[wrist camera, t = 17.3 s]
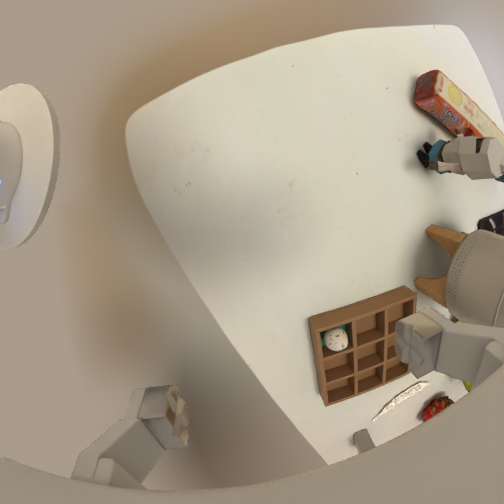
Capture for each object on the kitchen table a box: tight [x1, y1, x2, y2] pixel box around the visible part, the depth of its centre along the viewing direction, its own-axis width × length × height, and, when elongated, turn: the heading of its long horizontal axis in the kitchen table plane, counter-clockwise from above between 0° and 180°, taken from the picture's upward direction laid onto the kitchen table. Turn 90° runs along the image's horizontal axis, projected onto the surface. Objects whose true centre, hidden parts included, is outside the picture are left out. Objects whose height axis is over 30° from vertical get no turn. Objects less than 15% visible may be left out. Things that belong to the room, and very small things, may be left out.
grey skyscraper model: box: [354, 429, 375, 454], centre depth 40 cm, size 3×5×12 cm, turn 18°
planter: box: [414, 225, 504, 328], centre depth 27 cm, size 13×13×18 cm
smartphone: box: [478, 210, 504, 236], centre depth 35 cm, size 7×1×15 cm
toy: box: [416, 128, 504, 182], centre depth 24 cm, size 9×6×15 cm
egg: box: [324, 327, 348, 351], centre depth 34 cm, size 3×3×5 cm
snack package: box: [414, 70, 504, 174], centre depth 27 cm, size 21×7×7 cm, turn 69°
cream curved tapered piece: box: [372, 382, 430, 422], centre depth 43 cm, size 15×4×2 cm, turn 116°
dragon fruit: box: [423, 396, 454, 423], centre depth 43 cm, size 8×8×12 cm
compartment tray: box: [308, 286, 417, 407], centre depth 37 cm, size 16×16×3 cm
